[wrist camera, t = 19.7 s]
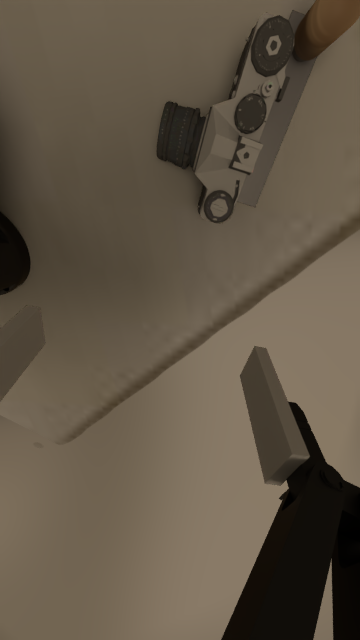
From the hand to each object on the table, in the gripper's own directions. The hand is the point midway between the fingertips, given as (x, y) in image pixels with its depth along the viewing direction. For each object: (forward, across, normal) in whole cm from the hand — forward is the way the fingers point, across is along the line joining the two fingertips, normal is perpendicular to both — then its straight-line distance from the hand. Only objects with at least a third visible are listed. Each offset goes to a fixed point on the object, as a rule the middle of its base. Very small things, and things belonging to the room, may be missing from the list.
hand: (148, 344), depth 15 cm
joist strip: (+25, +9, +15) cm, 30 cm away
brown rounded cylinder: (+25, +10, +22) cm, 34 cm away
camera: (+25, +2, +12) cm, 28 cm away
